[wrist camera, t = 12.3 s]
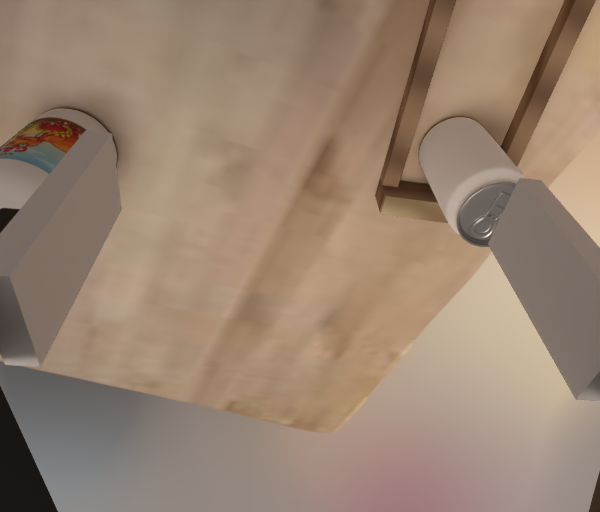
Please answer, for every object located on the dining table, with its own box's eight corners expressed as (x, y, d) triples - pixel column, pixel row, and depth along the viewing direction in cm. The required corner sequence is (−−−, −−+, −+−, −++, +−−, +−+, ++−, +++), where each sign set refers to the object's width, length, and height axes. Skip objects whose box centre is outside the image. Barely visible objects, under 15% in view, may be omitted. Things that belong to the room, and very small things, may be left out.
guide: (459, -101, 33) (475, -102, 30) (616, -70, 34) (646, -68, 31) (375, 195, 47) (380, 214, 44) (487, 210, 48) (500, 229, 45)
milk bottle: (134, 142, 43) (39, 278, 27) (96, 197, 47) (-8, 347, 31) (54, 87, 40) (-106, 204, 24) (20, 150, 44) (-140, 290, 28)
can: (404, 163, 45) (433, 234, 35) (444, 103, 41) (489, 163, 32) (458, 188, 46) (500, 262, 37) (501, 132, 43) (560, 198, 33)
